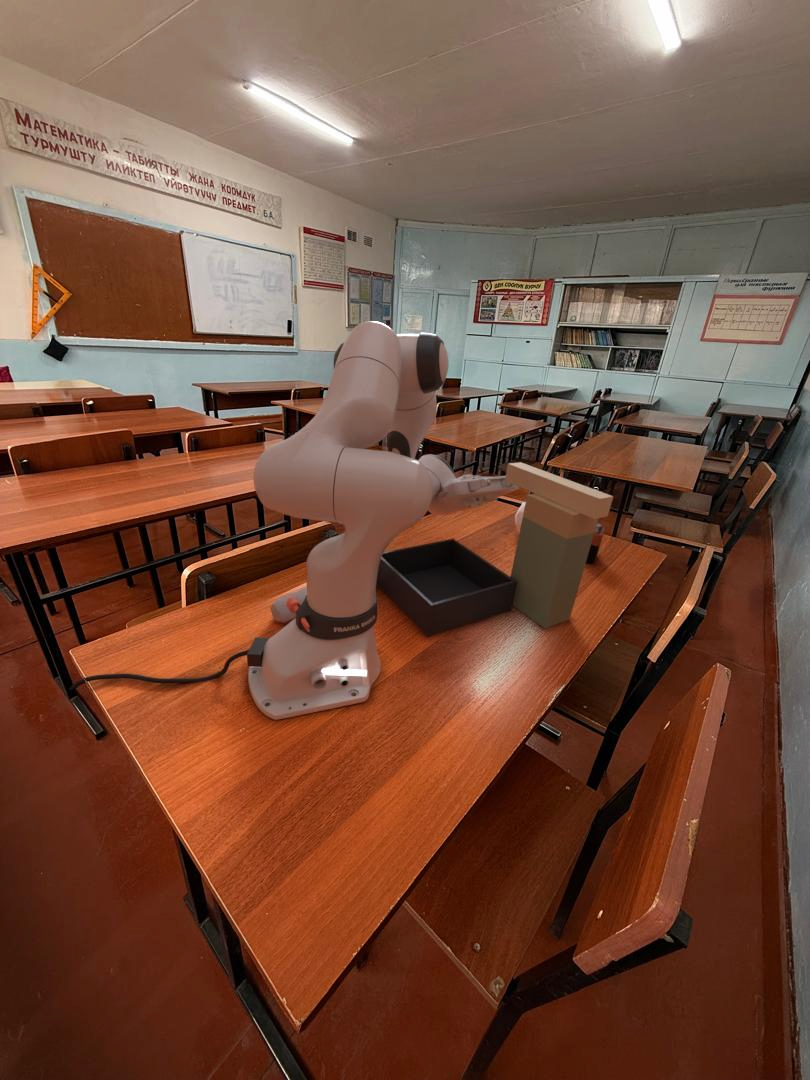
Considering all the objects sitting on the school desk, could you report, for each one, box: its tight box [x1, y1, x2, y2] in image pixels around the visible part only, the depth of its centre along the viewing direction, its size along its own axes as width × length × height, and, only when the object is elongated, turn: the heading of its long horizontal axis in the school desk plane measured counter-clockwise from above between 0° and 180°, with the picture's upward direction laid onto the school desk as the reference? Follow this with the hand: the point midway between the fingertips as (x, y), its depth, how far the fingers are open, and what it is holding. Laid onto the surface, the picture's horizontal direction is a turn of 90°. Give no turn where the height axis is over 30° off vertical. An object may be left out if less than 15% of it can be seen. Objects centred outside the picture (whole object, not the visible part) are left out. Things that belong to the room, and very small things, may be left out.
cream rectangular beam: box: [505, 461, 614, 519], centre depth 89 cm, size 4×24×4 cm, turn 31°
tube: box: [269, 586, 307, 624], centre depth 94 cm, size 5×5×25 cm
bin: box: [376, 538, 517, 638], centre depth 100 cm, size 23×24×8 cm
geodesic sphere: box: [514, 501, 526, 534], centre depth 130 cm, size 15×14×14 cm
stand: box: [510, 493, 599, 630], centre depth 93 cm, size 8×12×26 cm, turn 31°
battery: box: [586, 523, 605, 565], centre depth 123 cm, size 4×7×10 cm, turn 150°
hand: (503, 480), depth 101 cm, fingers open, 8 cm apart
